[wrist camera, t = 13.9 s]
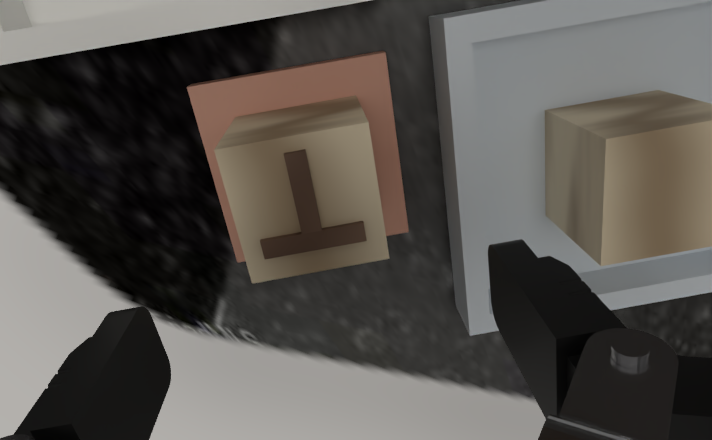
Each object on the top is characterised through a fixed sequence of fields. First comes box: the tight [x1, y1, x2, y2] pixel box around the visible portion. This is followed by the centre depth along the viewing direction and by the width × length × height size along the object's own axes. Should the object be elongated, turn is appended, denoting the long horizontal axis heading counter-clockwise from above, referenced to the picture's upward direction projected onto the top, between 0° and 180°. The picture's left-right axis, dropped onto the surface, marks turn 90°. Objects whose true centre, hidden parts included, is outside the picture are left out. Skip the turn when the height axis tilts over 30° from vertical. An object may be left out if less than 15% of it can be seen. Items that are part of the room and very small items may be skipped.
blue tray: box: [428, 0, 712, 336], centre depth 22 cm, size 14×14×3 cm
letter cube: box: [214, 95, 389, 284], centre depth 19 cm, size 5×5×5 cm
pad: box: [187, 51, 409, 263], centre depth 22 cm, size 8×8×1 cm
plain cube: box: [545, 90, 712, 266], centre depth 21 cm, size 5×5×5 cm
